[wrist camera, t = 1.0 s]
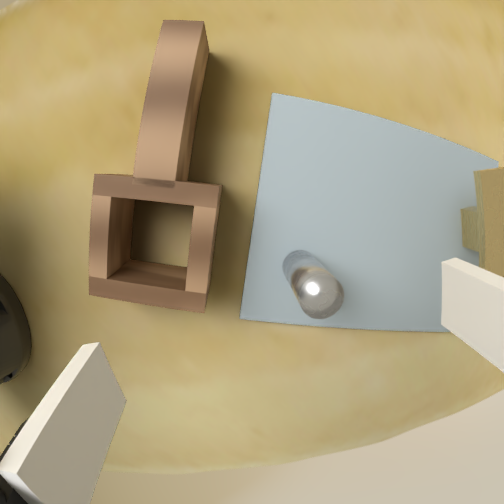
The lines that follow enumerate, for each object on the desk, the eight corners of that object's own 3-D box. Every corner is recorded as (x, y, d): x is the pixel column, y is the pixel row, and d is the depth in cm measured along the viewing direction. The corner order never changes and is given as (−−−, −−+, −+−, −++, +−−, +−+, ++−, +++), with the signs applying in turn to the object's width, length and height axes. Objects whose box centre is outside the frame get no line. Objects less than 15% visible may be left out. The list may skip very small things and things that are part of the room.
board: (239, 316, 30) (239, 318, 29) (271, 94, 26) (272, 92, 25) (459, 329, 32) (462, 331, 31) (495, 161, 28) (498, 161, 27)
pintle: (278, 278, 29) (295, 317, 21) (284, 246, 29) (304, 273, 20) (310, 282, 29) (338, 320, 21) (317, 250, 29) (348, 278, 20)
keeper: (424, 296, 31) (480, 334, 21) (414, 170, 28) (480, 171, 18) (472, 279, 31) (529, 309, 21) (465, 163, 28) (531, 164, 18)
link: (209, 286, 29) (204, 312, 23) (114, 273, 28) (89, 294, 22) (243, 54, 25) (245, 25, 19) (144, 48, 24) (125, 21, 18)
